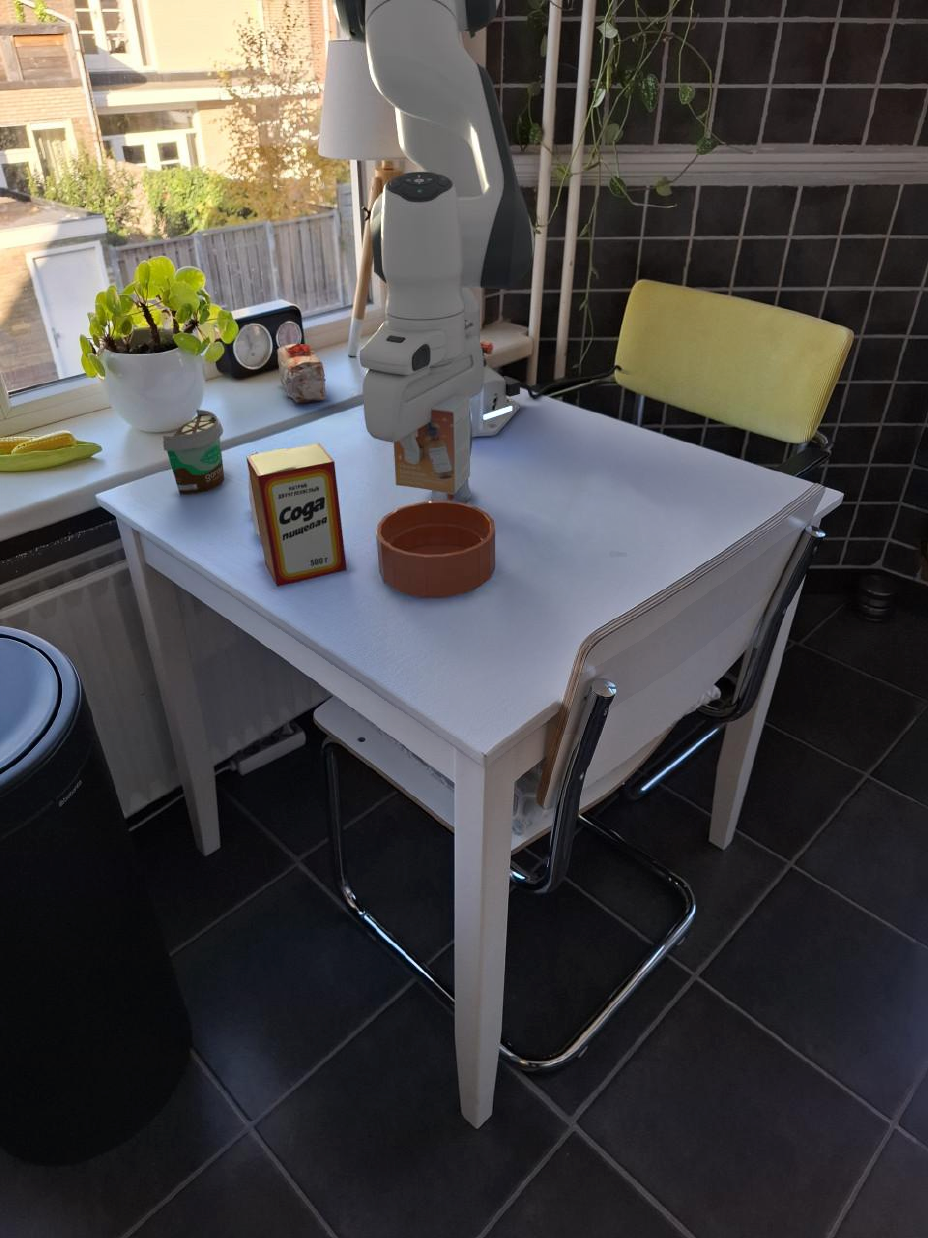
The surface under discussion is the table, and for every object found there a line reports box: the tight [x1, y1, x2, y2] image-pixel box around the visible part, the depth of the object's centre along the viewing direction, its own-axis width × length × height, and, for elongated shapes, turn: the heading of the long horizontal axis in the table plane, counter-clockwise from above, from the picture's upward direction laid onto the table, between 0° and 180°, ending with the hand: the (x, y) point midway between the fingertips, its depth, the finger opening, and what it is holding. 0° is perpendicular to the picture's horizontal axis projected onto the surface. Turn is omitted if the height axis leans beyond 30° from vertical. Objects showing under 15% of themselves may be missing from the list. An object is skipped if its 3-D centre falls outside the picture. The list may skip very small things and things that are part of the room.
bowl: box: [375, 500, 496, 599], centre depth 113 cm, size 15×15×6 cm
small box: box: [393, 396, 471, 494], centre depth 105 cm, size 8×6×10 cm
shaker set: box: [248, 451, 261, 538], centre depth 123 cm, size 12×4×11 cm, turn 14°
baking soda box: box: [245, 442, 348, 588], centre depth 112 cm, size 10×6×16 cm
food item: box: [277, 342, 327, 404], centre depth 171 cm, size 14×8×10 cm, turn 24°
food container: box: [162, 409, 225, 495], centre depth 137 cm, size 12×6×10 cm, turn 168°
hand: (431, 450), depth 106 cm, fingers closed on small box, 6 cm apart
